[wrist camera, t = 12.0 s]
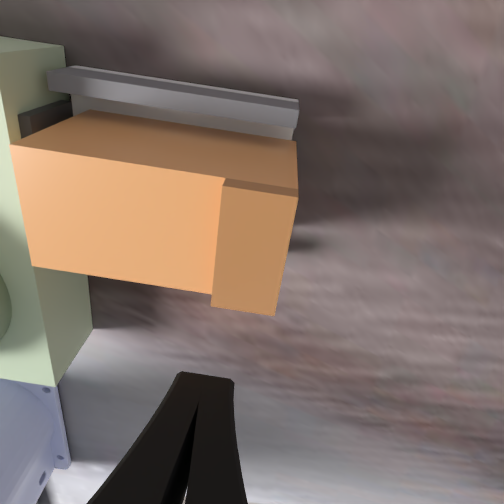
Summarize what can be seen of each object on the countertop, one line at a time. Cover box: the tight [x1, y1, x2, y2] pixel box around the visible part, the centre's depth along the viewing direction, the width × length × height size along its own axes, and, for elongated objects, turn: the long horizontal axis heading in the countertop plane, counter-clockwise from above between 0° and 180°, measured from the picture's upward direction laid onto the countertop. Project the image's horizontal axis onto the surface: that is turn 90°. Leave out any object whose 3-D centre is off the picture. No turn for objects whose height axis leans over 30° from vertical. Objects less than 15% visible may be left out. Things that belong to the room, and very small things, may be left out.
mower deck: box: [0, 36, 299, 387], centre depth 16 cm, size 14×18×6 cm
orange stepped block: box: [9, 109, 299, 316], centre depth 14 cm, size 4×8×6 cm, turn 82°
